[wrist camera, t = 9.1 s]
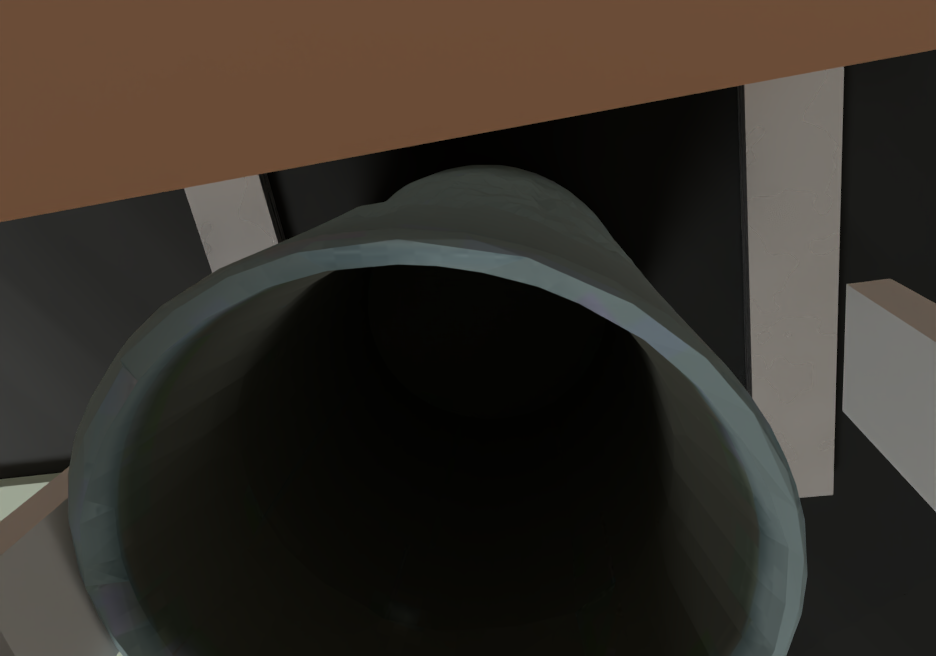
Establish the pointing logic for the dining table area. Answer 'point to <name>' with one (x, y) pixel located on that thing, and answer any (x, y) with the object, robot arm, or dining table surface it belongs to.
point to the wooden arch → (368, 77)
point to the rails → (763, 255)
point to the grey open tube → (434, 451)
